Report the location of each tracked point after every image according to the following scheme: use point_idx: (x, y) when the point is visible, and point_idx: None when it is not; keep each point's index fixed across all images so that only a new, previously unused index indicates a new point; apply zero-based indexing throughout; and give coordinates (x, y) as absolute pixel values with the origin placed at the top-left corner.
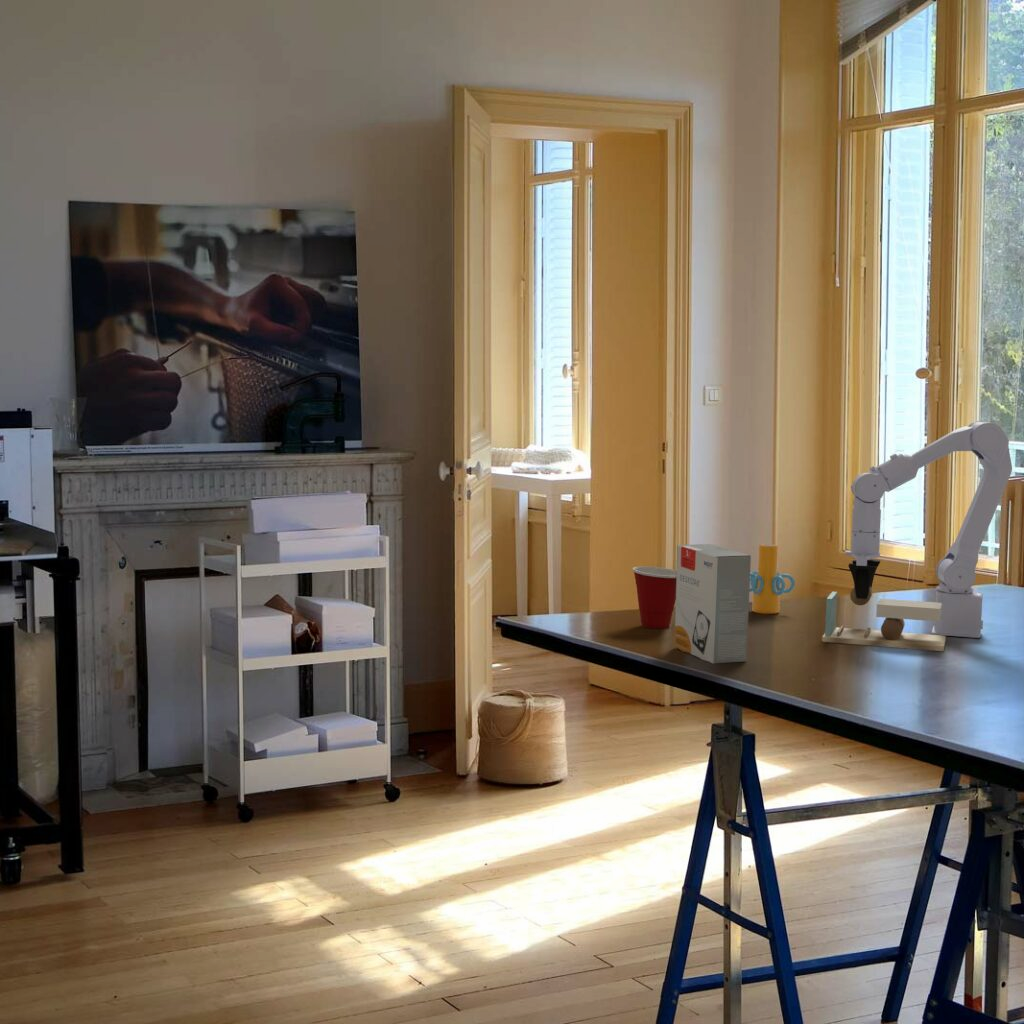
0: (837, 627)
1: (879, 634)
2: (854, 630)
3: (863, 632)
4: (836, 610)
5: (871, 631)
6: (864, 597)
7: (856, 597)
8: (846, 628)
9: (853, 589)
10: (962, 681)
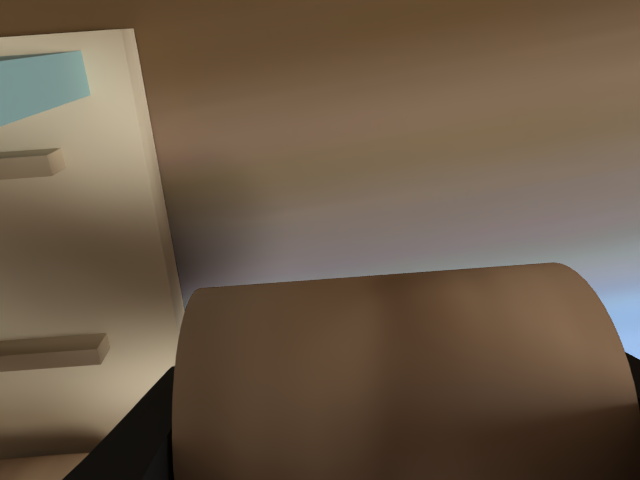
0: (133, 102)
1: (41, 410)
2: (81, 247)
3: (41, 315)
4: (8, 121)
5: (122, 352)
6: None
7: (169, 370)
8: (130, 178)
9: (175, 392)
10: None
